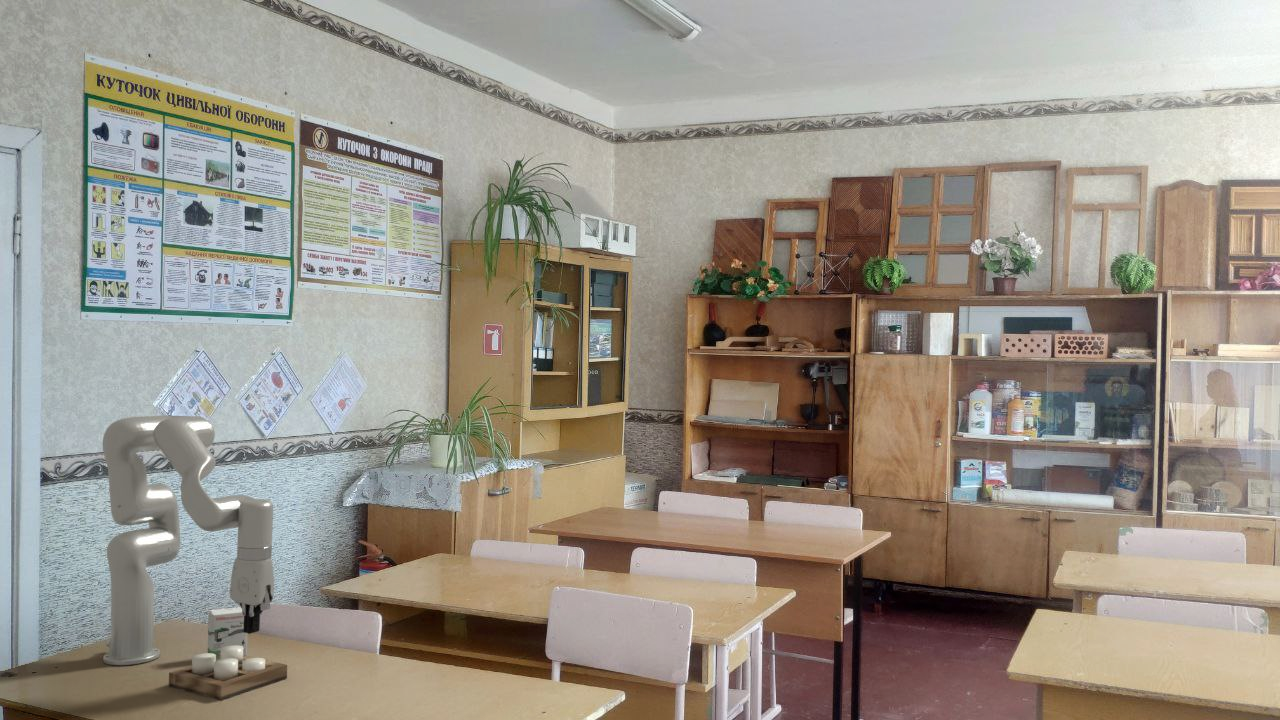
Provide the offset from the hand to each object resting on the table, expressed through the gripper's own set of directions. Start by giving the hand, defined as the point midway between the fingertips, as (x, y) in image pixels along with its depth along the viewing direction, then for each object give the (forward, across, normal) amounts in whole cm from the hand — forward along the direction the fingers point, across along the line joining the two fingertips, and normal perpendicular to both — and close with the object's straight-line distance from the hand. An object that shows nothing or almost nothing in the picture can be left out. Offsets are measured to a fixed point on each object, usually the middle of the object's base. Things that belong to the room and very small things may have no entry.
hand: (251, 631), depth 236 cm
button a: (+9, -7, -8) cm, 13 cm away
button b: (+9, -7, 0) cm, 11 cm away
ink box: (+12, -20, +9) cm, 25 cm away
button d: (+10, +1, 0) cm, 10 cm away
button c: (+8, +1, -8) cm, 11 cm away
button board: (+11, -3, -4) cm, 12 cm away
